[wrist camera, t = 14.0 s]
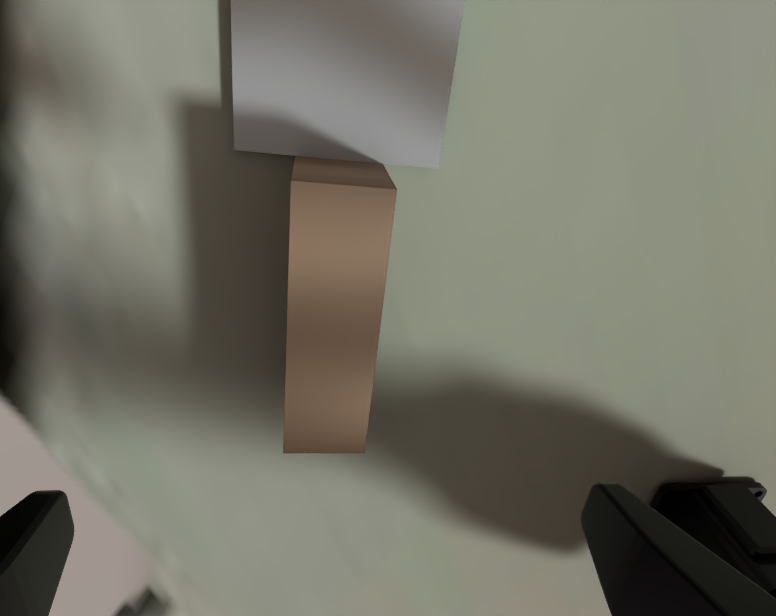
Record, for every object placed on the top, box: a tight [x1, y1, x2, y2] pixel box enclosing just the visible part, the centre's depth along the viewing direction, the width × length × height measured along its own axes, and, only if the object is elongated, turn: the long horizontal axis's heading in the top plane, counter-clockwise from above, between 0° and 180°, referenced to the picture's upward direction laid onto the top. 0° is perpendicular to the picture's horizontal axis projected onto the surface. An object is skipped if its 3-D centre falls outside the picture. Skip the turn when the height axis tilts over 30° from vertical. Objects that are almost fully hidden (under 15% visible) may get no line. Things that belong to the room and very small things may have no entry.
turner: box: [231, 0, 465, 453], centre depth 16 cm, size 18×7×4 cm, turn 173°
